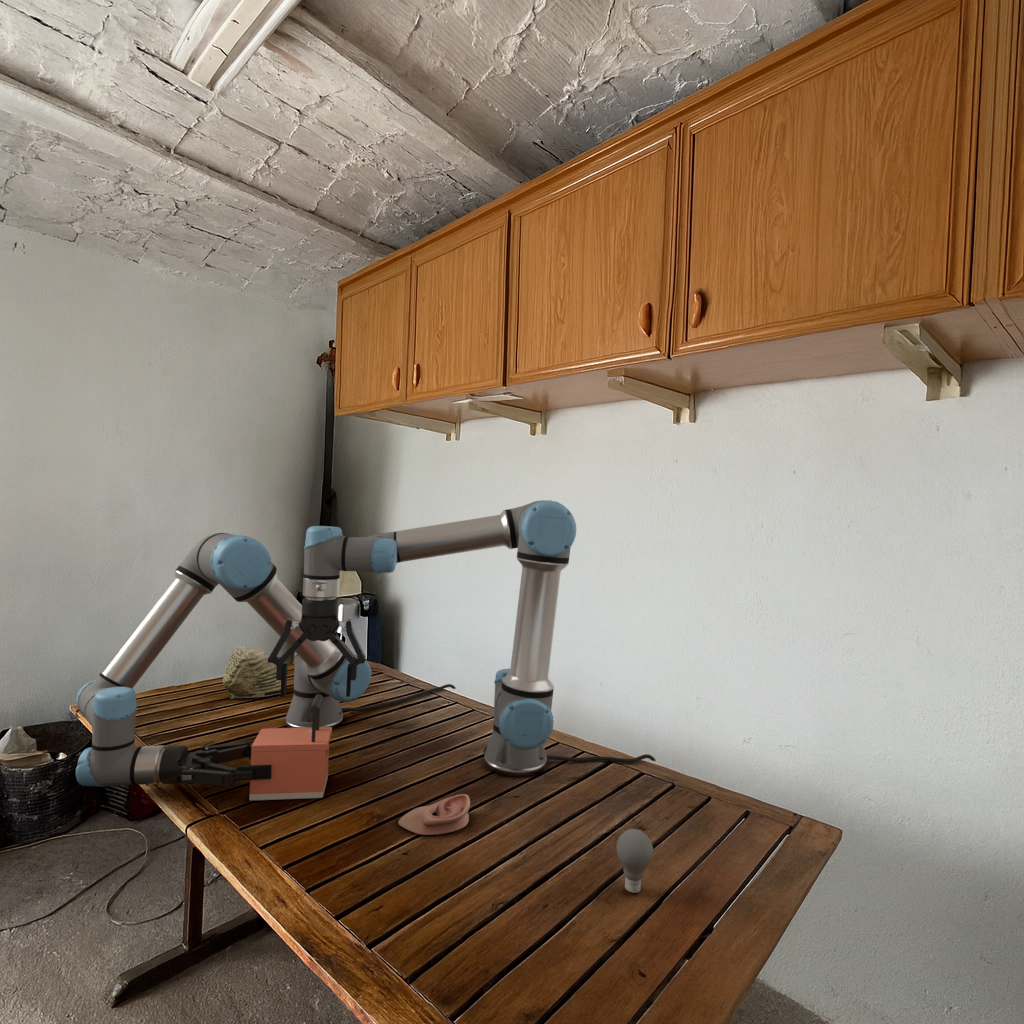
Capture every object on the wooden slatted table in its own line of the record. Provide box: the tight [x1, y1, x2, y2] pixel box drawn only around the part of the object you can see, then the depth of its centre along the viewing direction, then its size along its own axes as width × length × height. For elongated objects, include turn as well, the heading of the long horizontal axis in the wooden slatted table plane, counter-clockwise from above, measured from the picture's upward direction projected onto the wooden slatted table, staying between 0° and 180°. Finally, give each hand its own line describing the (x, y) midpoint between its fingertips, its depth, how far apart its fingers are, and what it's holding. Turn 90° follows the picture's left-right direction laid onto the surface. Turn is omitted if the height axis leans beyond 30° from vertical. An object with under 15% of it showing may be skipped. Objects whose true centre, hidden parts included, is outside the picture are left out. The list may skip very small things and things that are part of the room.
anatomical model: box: [397, 793, 471, 836], centre depth 125 cm, size 13×4×12 cm
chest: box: [248, 744, 330, 801], centre depth 137 cm, size 15×10×10 cm
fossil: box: [222, 646, 281, 699], centre depth 198 cm, size 9×18×15 cm, turn 132°
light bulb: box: [615, 828, 654, 894], centre depth 106 cm, size 6×6×10 cm
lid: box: [251, 694, 333, 752], centre depth 137 cm, size 15×10×9 cm, turn 100°
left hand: (275, 761), depth 136 cm, fingers closed on chest, 10 cm apart
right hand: (316, 695), depth 137 cm, fingers open, 13 cm apart
